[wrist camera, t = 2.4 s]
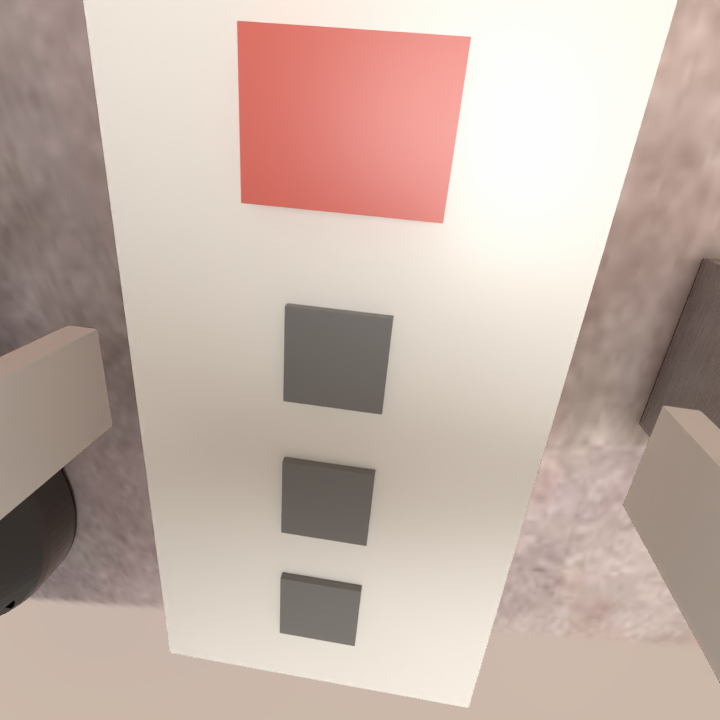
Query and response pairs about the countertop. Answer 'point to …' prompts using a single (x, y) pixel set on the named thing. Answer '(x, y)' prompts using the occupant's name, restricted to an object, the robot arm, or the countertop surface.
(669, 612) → the countertop surface
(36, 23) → the countertop surface
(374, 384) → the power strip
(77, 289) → the countertop surface
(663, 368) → the rail
